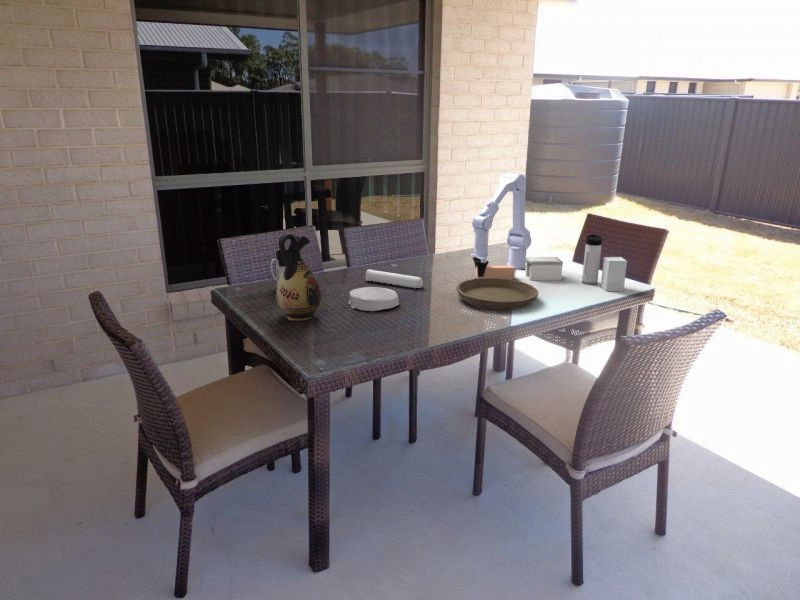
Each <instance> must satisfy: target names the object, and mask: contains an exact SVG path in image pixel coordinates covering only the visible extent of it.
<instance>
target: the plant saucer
mask: <svg viewBox="0 0 800 600" xmlns="http://www.w3.org/2000/svg"><path fill="white" fill-rule="evenodd" d="M456 292H457V294H458V296H460V297H461V299H462V300H463V301H464V302H465V303H466V304H467V305H471V306H474V307H476V306H477V308H480V307H481V309H486V310H494V311H495V310H496V311H497V310H499V311H504V310H505V311H506V310H507V311H508V310H509V309H510V310H517V309H522V308H525V307H528V306H529V305H530V304H531V303H532V302H533V301H535V300H536V299H537V298H538V295H539V290H538V289H537V288H536V287H534V286H533V285H531V284H530V283H527V282H524V281H520V280H516V279H504V278H476V277H475V278H470V279H465V280H463V281H460V282H459V283H458V284H457V286H456ZM527 305H528V306H527Z"/></svg>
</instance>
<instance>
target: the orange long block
mask: <svg viewBox="0 0 800 600" xmlns="http://www.w3.org/2000/svg"><path fill="white" fill-rule="evenodd" d="M515 271H516V269H515V268H514V266H513V265H510V266H508V265H487V266H486V269H485V272H484V276H483V277H478V272H477V266H476V269H475V274H474V275H475V276H474V277H475V278H504V279H511V280H515Z"/></svg>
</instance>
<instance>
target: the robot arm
mask: <svg viewBox="0 0 800 600" xmlns="http://www.w3.org/2000/svg"><path fill="white" fill-rule="evenodd" d="M526 191H527V177H526V176H525V175H524V174H522V173H519V174H518V173H509V172H503V173H502V174H501V175H500V178H499V179H498V186H497V189H496V191H495V193H494V195H493V196H492V198H491V200H488V201H487V202H486V203H485V205H484V206H483V208H482V209H481V210H480V213H479V214H478V215H476V216H475V217H474V218H473V219H472V220H473V221H472V222H471V225H472V228H473V233H474V242H473V243H474V244H473V245H474V246H473V253H471V254H470V255H471V257H472V260H473V263H474V268H475V270H476V266H477V272H478V277H483V276H484V272H485V269H486V266H489V260H487V258H488V257H489V254H488V250H489V235H490V234H489V232H490V229H491V228H492V226H493V221H494V218H495V216H496V214H497V212H498V211H499V210H500V207H499V204H500V203H501V202H502V201H503V199H504V198H505V197H506V195H507V194H508V193H509V192H510V193H512V227H511V228H510V229H509V230H507V231H508V234H507V238H506V242H507V245H508V247H509V249H508V250H509V251H508V262H506V266H510V265H513V266H514V268H515V270H523V269H524V270H526V262H525V261H524V258H527V250H528V249H529V248H530V246H531V244H532V237H531V231H530V230H529V229H528V228H526V226H525V225H526V223H525V222H526V217H525V216H526Z"/></svg>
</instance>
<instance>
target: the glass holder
mask: <svg viewBox="0 0 800 600" xmlns="http://www.w3.org/2000/svg"><path fill="white" fill-rule="evenodd" d="M287 250H288V249H286V251H287ZM287 254H288V257H289V259H290V256H291V253H289V252H287ZM274 261H275V263H276V264H275V267H276V268H275V269H276V271H275V272H276V276H275V273H274V269H273V263H274ZM284 269H285V262H284V261H283V257H282V255H281V252H280V250H276V251H275V258H272V260H271V261H270V271H271V275H272V278H273V279H274V280H276V283H277V284H278V281H279V279H280V276H281V274H282V273H283V271H284Z"/></svg>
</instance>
